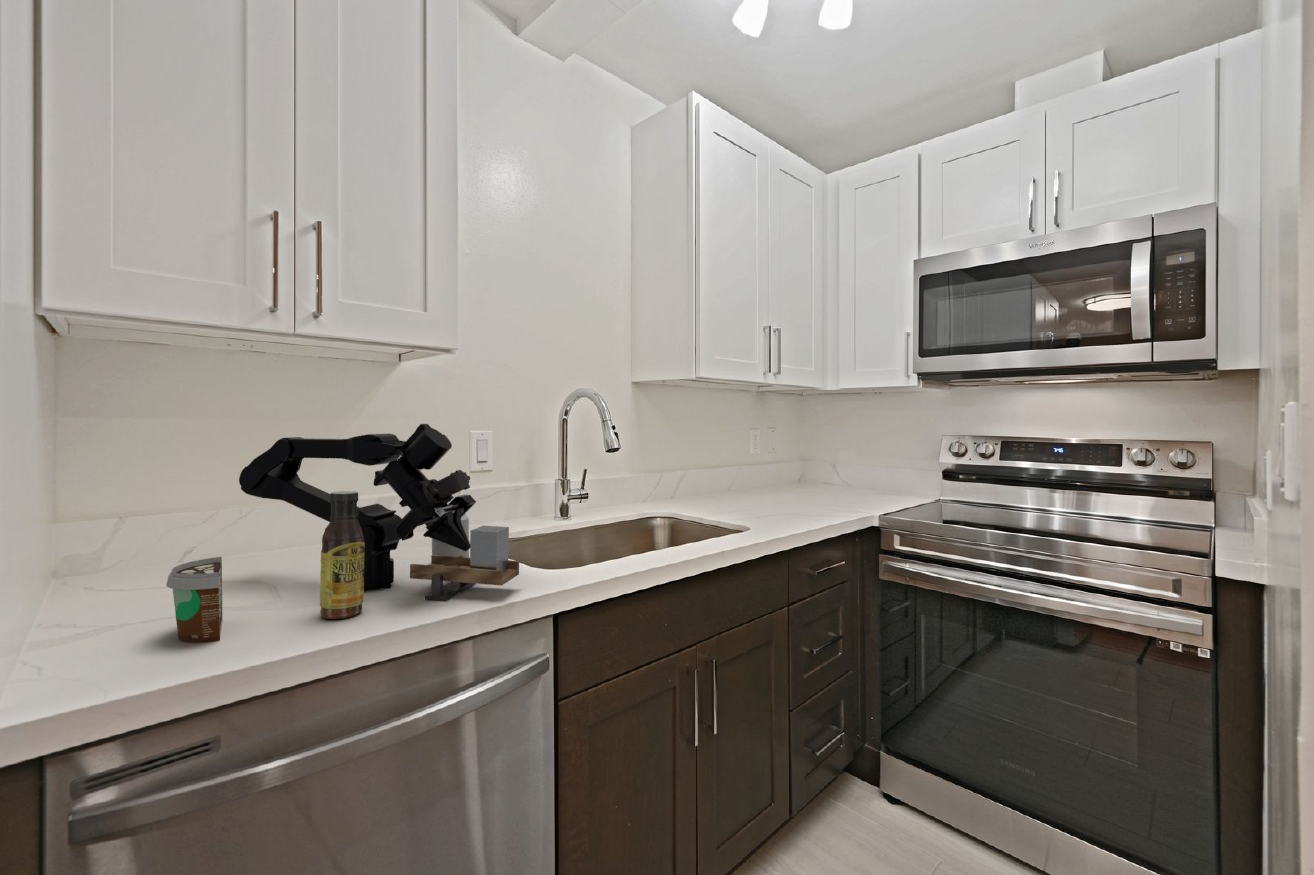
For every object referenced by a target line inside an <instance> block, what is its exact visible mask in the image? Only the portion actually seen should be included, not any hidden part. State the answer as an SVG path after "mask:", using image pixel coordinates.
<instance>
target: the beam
mask: <svg viewBox="0 0 1314 875" xmlns="http://www.w3.org/2000/svg"><path fill="white" fill-rule="evenodd" d="M430 556H431V560H430V561H431V562H430V563H428V564H418V563H410V564H409V579H413V580H414V579H415V580H425V581H428V580H429V581H431V576H432V575H434V574H438V575H443V582H463V583H475V585H488V586H489V585H491V586H504V585H505V584H507V583H509V581H511V580H512V579H514V578H516V577H517V576H519V575H520V561H519V560H510V559H508V570H507V571H506V572H504V573H503V571H502V570H488V569H475V568H470V556H469V557H464V556H459V557H455V556H441V555H432V554H431V555H430Z"/></svg>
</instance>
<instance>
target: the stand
mask: <svg viewBox="0 0 1314 875" xmlns="http://www.w3.org/2000/svg"><path fill="white" fill-rule="evenodd" d="M430 581H431V584H430V585H431V591H430V592H429V593H427V594H425V595H424V601H429V602H431V601H432V602H448V601H450V600H451V599H452V598H455V597H456V596H457V595H460V594H461V593H462V592H465V591H467V590H468V589H469V588H472V587H473V586H474V585H476V584H475V583H463V582H450V581H448V582H447V583H446V584H444V581H443V575H438V574H434V575H432V576H431V580H430Z"/></svg>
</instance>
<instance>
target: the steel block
mask: <svg viewBox="0 0 1314 875" xmlns="http://www.w3.org/2000/svg"><path fill="white" fill-rule="evenodd" d="M509 539H510V526H496V525H482V526H478V527H476V528H474V529H470V531H469V543H470V549H469V558H470V568H475V569H488V570H502V571H503V573H504V572H506V571H507V570H508V560H509V547H510V546H509V544H510V543H509V542H510V540H509Z"/></svg>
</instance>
